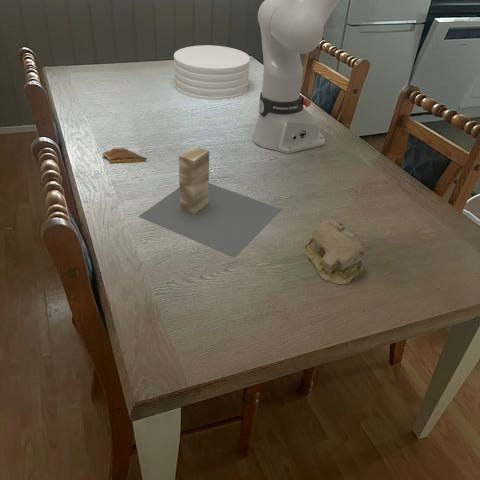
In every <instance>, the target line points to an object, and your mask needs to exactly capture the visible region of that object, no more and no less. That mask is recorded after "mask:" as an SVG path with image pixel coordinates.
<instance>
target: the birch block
mask: <svg viewBox="0 0 480 480" xmlns="http://www.w3.org/2000/svg"><path fill="white" fill-rule="evenodd" d="M178 173H179V174H178V175H179V179H178V180H179V187H180V209H181V210H184V211H186V212H189V213H191V214H195V213H197V212H198V211H199V210H200V209H202V208H203V207H204V206H205V205H207V204H208V192H209V183H210V182H209V181H210V180H209V179H210V150H208V149H205V148H201V147H198V146H195V145H193V146H192V147H190V148H189V149H188V150H186V151H184V152H182V153H181V154H179V155H178Z"/></svg>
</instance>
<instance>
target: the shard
mask: <svg viewBox="0 0 480 480" xmlns="http://www.w3.org/2000/svg"><path fill="white" fill-rule="evenodd" d="M102 156H103V157H105V158H106V159H108V161H109V164H116V163H128V164H129V163H146V161H147V160H148V157H147V158H146V157H144V156H143V155H142V156H141V155H140V154H137V153H136V152H135V151H132V150H129V149H127V148H123V147H115V148H112V149H110V150H108V151H104V152H103V153H102Z"/></svg>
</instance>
